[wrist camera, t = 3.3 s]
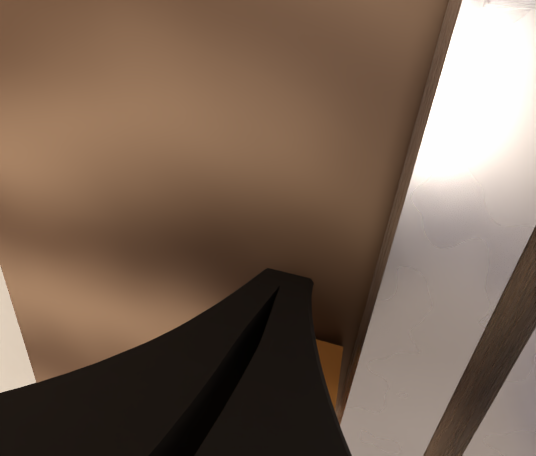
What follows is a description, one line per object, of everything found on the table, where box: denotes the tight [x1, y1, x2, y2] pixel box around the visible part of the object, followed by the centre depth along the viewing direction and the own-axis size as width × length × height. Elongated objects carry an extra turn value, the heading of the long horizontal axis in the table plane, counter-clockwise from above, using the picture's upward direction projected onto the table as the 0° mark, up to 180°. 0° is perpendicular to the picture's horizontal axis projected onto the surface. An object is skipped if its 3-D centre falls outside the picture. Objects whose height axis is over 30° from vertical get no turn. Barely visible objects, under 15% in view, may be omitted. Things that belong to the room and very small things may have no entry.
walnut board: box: [0, 0, 536, 456], centre depth 11 cm, size 28×22×1 cm
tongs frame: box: [424, 228, 536, 456], centre depth 8 cm, size 24×5×2 cm, turn 175°
